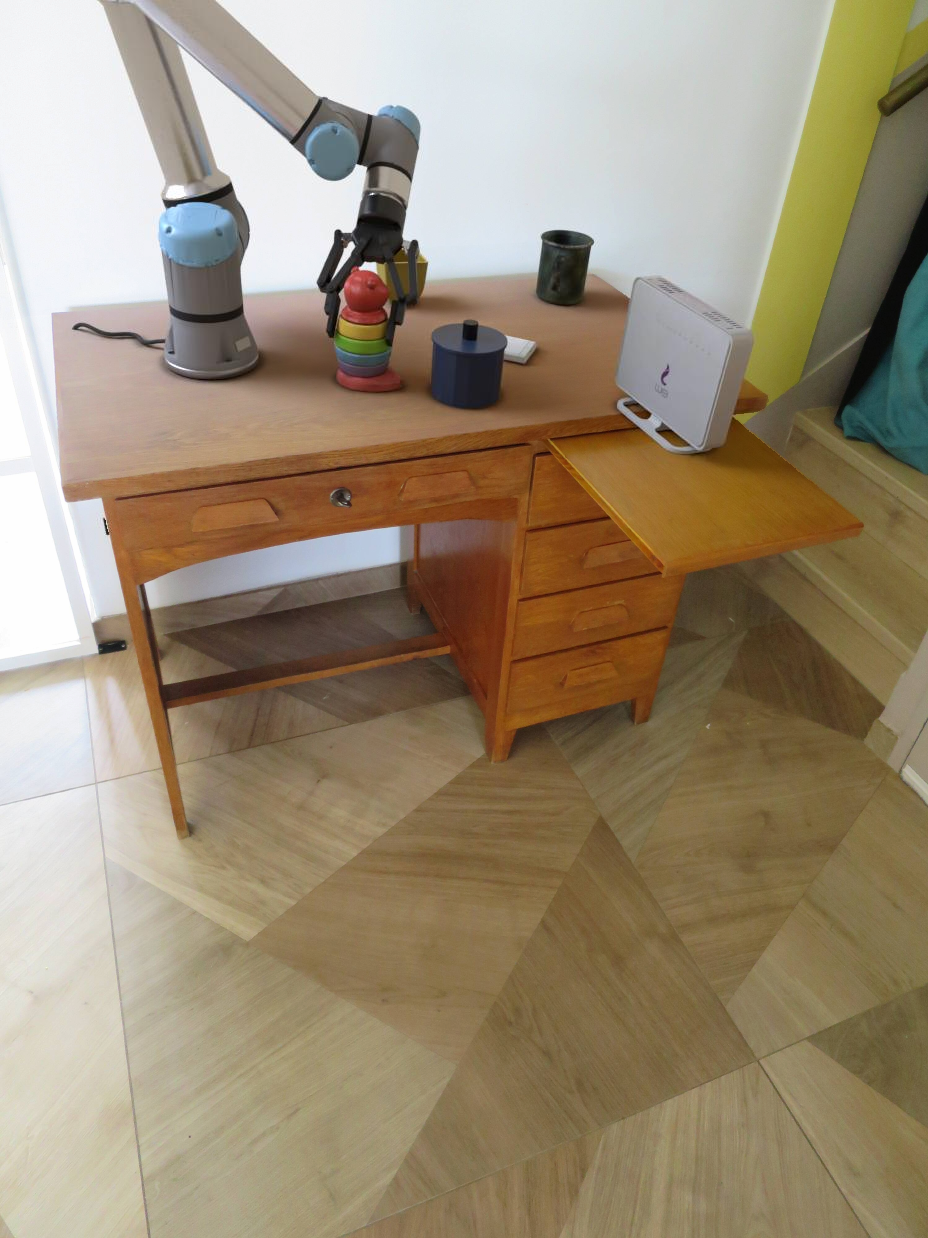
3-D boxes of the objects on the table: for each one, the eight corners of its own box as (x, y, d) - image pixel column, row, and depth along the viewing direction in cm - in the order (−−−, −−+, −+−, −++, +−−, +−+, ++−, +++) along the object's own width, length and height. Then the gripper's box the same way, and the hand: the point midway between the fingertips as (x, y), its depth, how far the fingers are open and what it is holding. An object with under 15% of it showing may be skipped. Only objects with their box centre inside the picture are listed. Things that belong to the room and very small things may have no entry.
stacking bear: (406, 388, 145) (411, 279, 134) (349, 397, 141) (349, 285, 130) (380, 362, 152) (382, 257, 141) (325, 370, 148) (322, 262, 137)
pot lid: (424, 353, 136) (425, 330, 134) (438, 325, 146) (439, 303, 143) (502, 364, 135) (504, 341, 133) (510, 335, 145) (513, 313, 142)
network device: (600, 394, 149) (622, 274, 137) (643, 388, 152) (669, 271, 140) (686, 467, 132) (721, 337, 119) (733, 459, 135) (772, 331, 122)
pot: (424, 403, 142) (427, 349, 136) (437, 374, 150) (440, 323, 145) (494, 412, 141) (500, 359, 135) (502, 383, 150) (508, 332, 144)
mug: (588, 292, 189) (598, 234, 181) (577, 315, 178) (586, 254, 170) (539, 284, 191) (546, 226, 183) (525, 306, 180) (532, 245, 172)
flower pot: (373, 294, 178) (374, 248, 173) (415, 292, 181) (417, 247, 175) (383, 310, 172) (384, 262, 166) (426, 308, 174) (429, 261, 169)
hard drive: (458, 342, 158) (524, 355, 156) (473, 327, 164) (536, 340, 162) (458, 351, 159) (523, 364, 157) (472, 335, 165) (535, 348, 163)
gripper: (451, 227, 144) (428, 357, 142) (323, 210, 146) (298, 339, 144) (448, 200, 137) (424, 337, 135) (313, 183, 138) (287, 318, 136)
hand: (359, 338), depth 139 cm, fingers closed on stacking bear, 9 cm apart
